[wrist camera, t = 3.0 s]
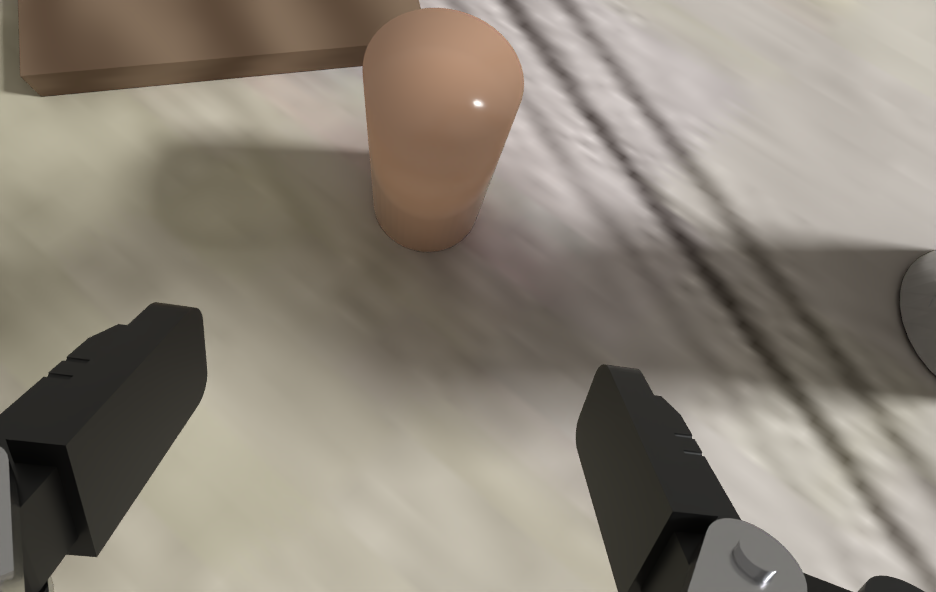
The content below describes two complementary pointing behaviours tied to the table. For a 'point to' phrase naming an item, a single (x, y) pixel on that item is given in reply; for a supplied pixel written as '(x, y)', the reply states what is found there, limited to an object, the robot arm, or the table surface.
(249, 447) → the table surface
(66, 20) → the ware board
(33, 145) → the table surface
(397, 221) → the peg
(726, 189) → the table surface
